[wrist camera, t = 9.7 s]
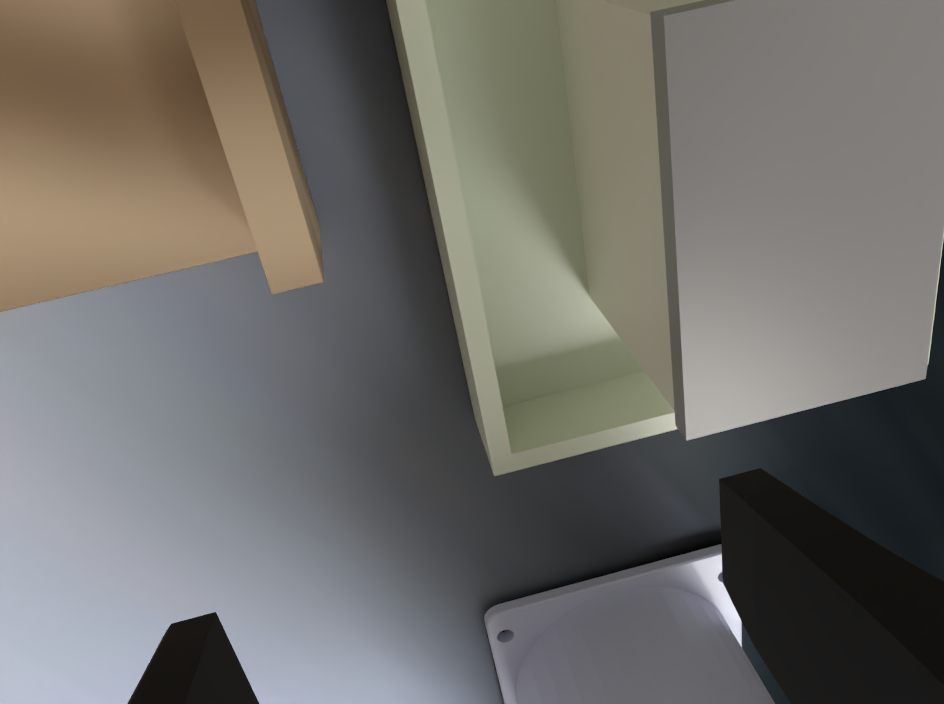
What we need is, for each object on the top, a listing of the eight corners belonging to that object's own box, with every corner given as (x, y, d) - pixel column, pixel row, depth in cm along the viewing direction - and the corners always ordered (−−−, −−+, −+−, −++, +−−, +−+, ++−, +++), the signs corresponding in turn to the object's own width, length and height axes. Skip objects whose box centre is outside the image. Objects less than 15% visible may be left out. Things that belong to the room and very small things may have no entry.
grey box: (765, 277, 20) (922, 403, 15) (588, 321, 20) (687, 464, 15) (767, -66, 17) (978, -54, 11) (548, -20, 16) (663, 15, 11)
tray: (867, 319, 22) (928, 363, 20) (475, 419, 22) (494, 476, 19) (911, -268, 16) (1007, -295, 14) (352, -156, 15) (361, -166, 13)
